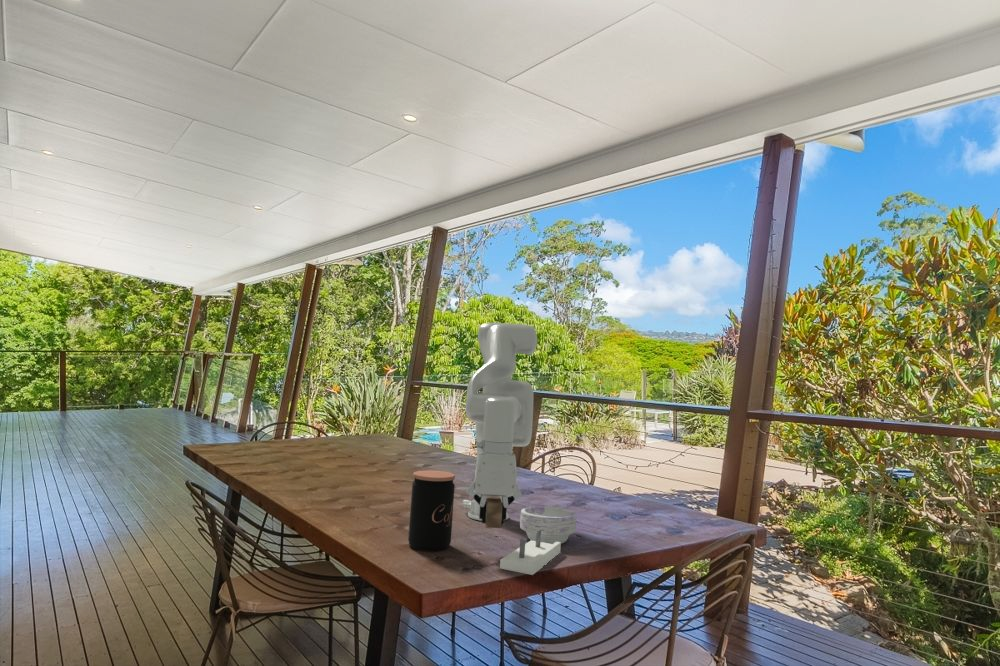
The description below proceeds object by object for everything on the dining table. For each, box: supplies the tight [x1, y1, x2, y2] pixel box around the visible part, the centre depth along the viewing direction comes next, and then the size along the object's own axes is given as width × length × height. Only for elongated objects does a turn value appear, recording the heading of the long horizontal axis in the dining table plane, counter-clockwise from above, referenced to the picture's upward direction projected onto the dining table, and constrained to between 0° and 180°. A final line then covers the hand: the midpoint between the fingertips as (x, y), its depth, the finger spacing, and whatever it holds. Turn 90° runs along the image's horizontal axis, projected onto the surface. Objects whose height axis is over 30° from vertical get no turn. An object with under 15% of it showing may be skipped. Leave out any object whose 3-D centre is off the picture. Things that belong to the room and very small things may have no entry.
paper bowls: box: [519, 505, 577, 545], centre depth 169 cm, size 15×15×8 cm
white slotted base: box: [499, 530, 562, 576], centre depth 149 cm, size 8×20×6 cm, turn 156°
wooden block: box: [484, 495, 503, 529], centre depth 153 cm, size 4×7×6 cm, turn 7°
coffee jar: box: [407, 469, 456, 552], centre depth 157 cm, size 11×11×18 cm
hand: (492, 521), depth 153 cm, fingers closed on wooden block, 3 cm apart
